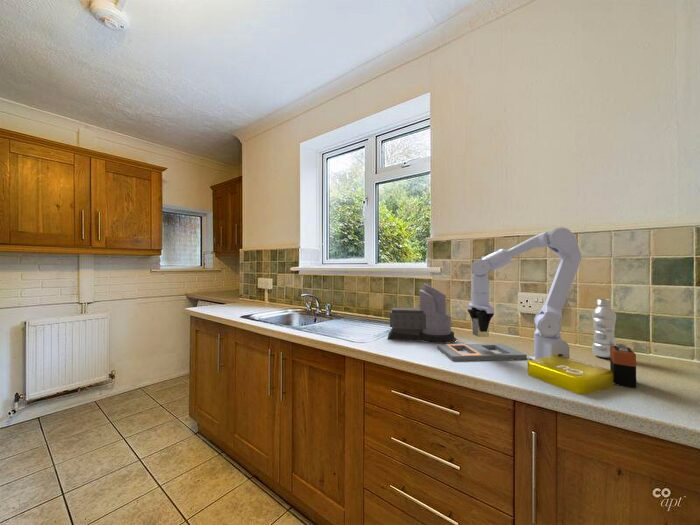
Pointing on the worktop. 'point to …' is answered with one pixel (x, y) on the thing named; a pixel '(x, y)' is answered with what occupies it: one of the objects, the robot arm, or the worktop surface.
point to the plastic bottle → (603, 328)
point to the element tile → (571, 374)
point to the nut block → (477, 329)
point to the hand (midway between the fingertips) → (480, 330)
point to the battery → (623, 365)
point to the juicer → (423, 320)
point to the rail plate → (480, 352)
